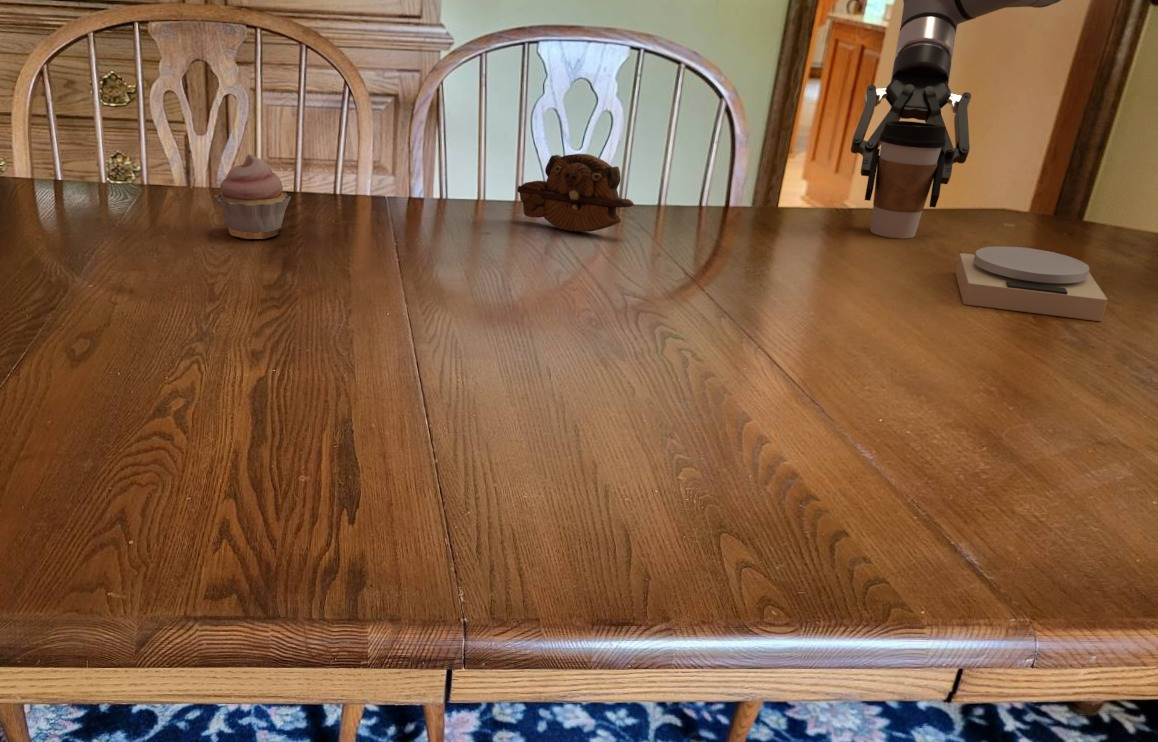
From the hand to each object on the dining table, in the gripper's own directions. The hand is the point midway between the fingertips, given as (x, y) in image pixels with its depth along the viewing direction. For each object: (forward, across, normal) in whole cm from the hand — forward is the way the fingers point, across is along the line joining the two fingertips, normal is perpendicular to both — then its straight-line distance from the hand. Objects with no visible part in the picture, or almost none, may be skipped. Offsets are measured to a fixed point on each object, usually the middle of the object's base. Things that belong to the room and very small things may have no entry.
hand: (901, 197), depth 147 cm
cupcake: (+31, +77, +22) cm, 86 cm away
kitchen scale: (+19, -14, +11) cm, 26 cm away
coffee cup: (+2, 0, -6) cm, 7 cm away
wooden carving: (+16, +41, +8) cm, 45 cm away
